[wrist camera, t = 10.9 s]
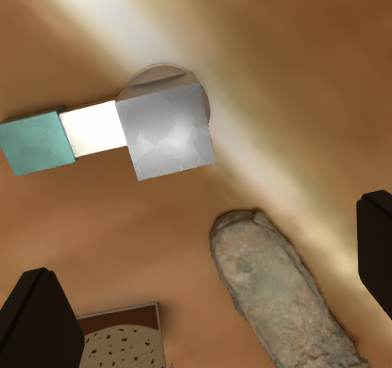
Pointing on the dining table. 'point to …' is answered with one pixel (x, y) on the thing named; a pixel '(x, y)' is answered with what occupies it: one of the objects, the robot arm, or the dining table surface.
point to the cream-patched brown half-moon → (123, 338)
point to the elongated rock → (278, 295)
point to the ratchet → (72, 129)
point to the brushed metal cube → (165, 125)
